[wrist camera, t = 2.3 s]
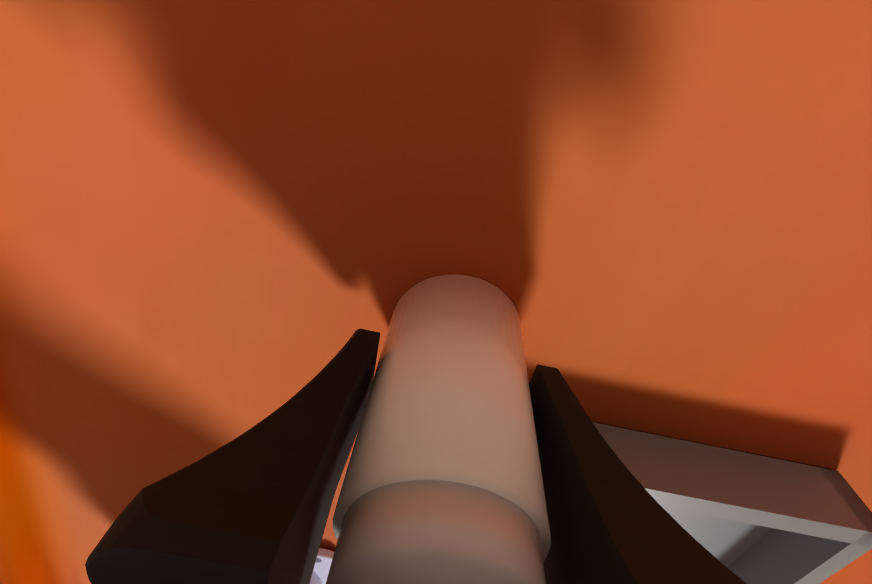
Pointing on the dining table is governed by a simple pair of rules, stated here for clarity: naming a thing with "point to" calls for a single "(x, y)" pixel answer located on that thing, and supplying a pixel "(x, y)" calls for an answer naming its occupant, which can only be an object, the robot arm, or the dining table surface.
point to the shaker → (445, 449)
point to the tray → (751, 506)
